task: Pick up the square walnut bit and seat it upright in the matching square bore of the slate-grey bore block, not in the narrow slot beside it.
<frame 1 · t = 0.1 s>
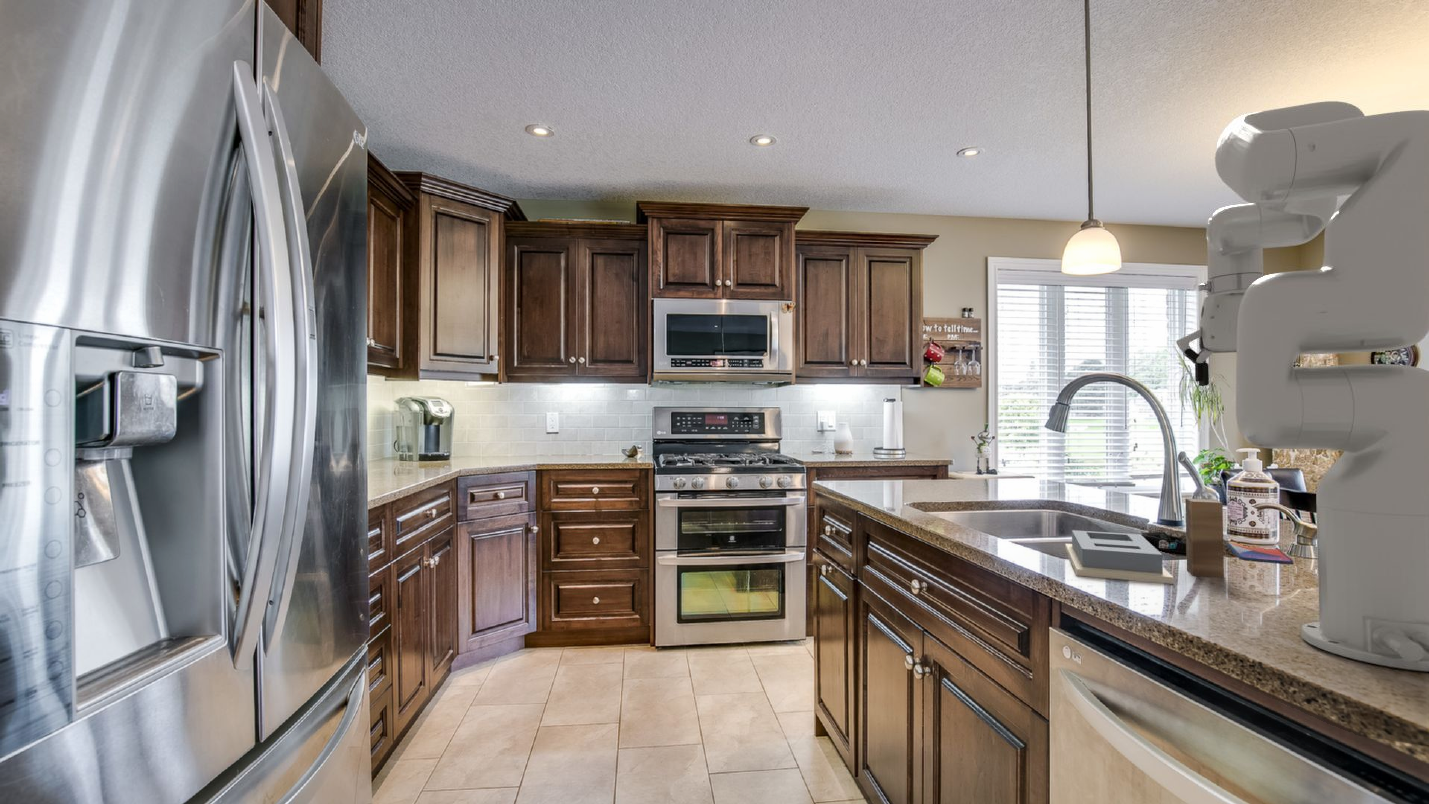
hand: (1237, 385, 111), 31 cm above the counter, tool pointing down, fingers open, 9 cm apart
walnut bit: (1204, 574, 103), on the counter
smartphone: (1257, 556, 118), on the counter
toy car: (1176, 553, 121), on the counter
bore block: (1113, 564, 110), on the counter
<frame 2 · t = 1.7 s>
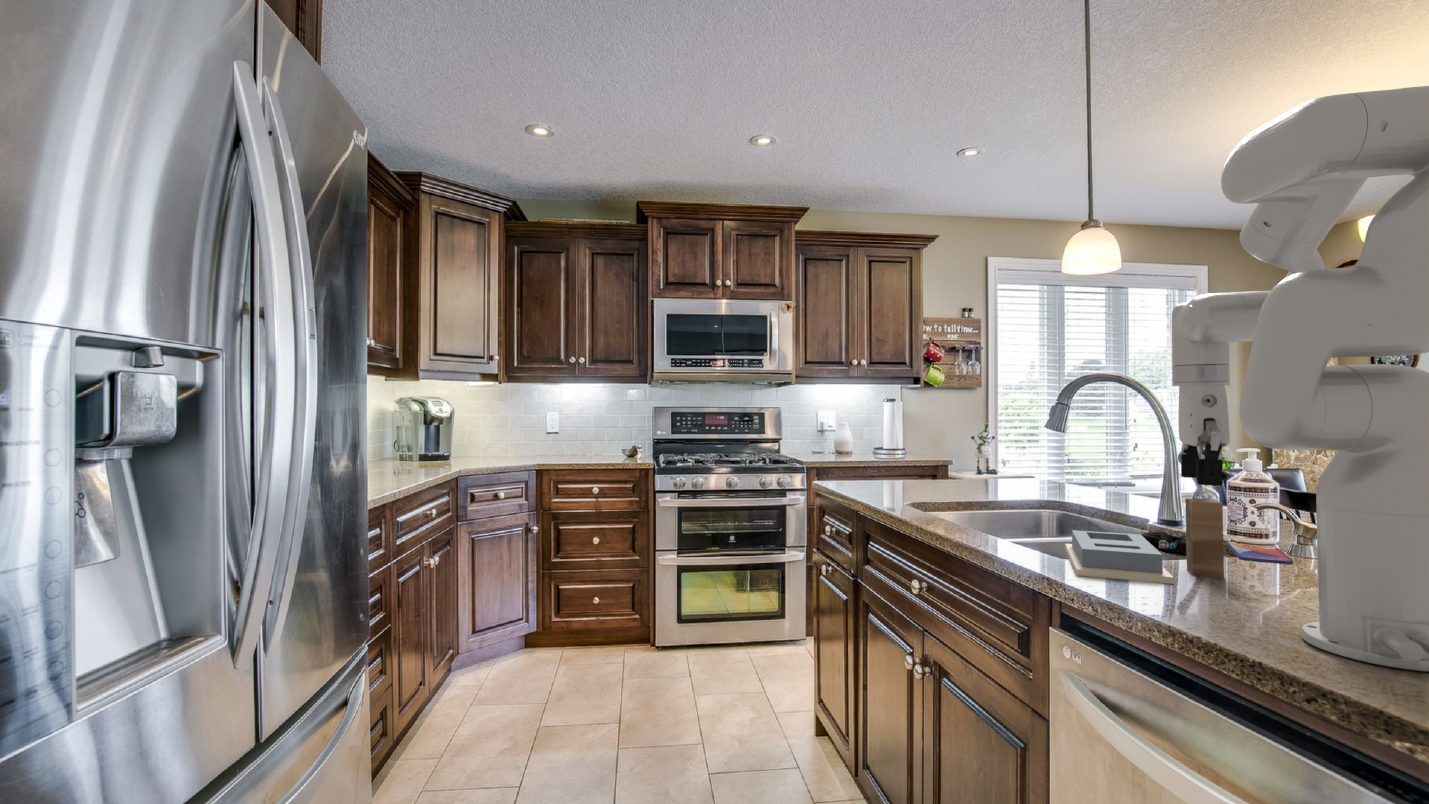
hand: (1200, 480, 104), 15 cm above the counter, tool pointing down, fingers open, 9 cm apart
nothing on the counter moved.
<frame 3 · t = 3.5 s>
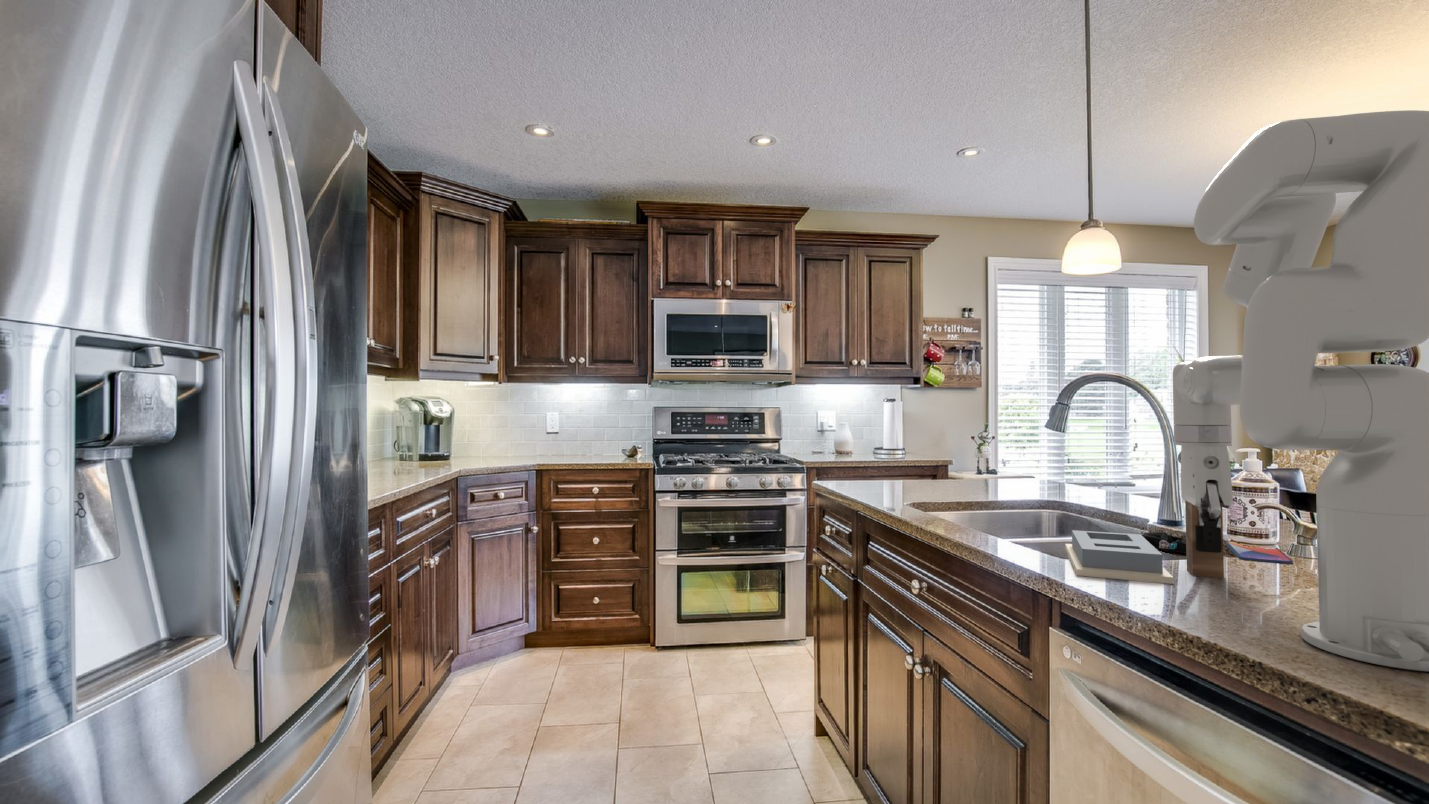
hand: (1204, 547, 103), 4 cm above the counter, tool pointing down, fingers closed on walnut bit, 4 cm apart
walnut bit: (1204, 574, 103), on the counter, touching gripper
everything else where it was.
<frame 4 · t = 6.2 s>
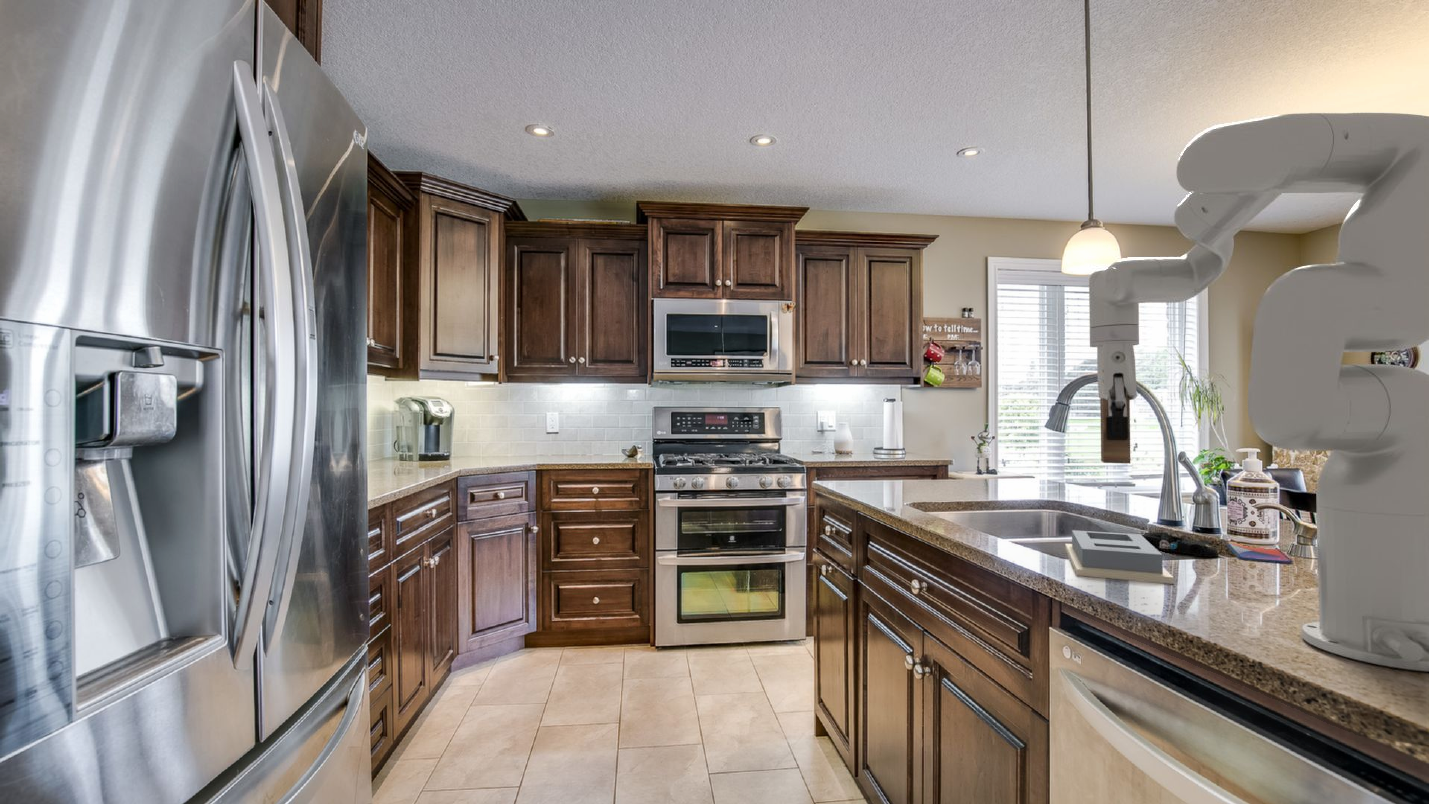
hand: (1115, 438, 114), 22 cm above the counter, tool pointing down, fingers closed on walnut bit, 4 cm apart
walnut bit: (1115, 462, 114), point 17 cm above the counter, touching gripper
everything else where it was.
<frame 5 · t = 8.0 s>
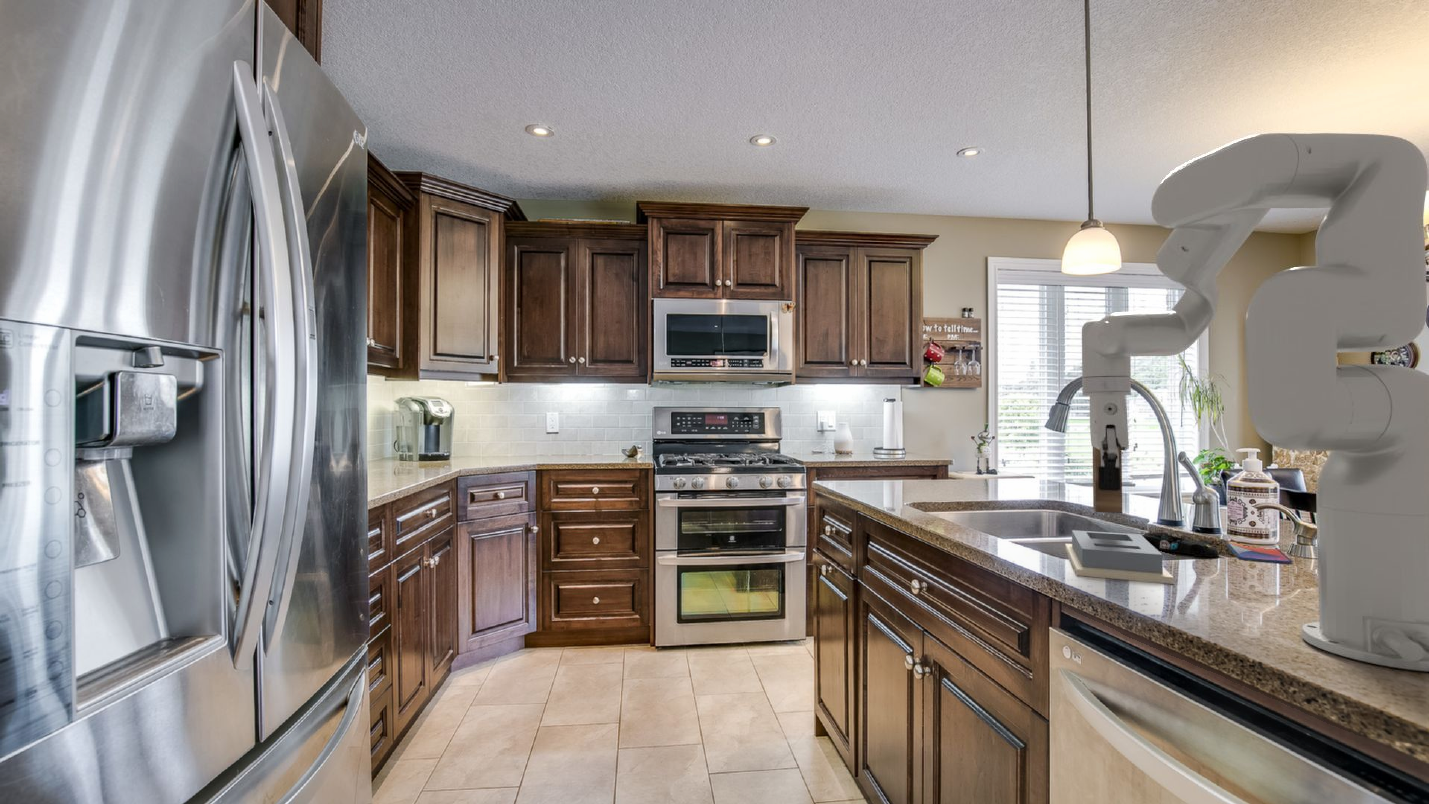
hand: (1107, 487, 115), 13 cm above the counter, tool pointing down, fingers closed on walnut bit, 4 cm apart
walnut bit: (1107, 511, 115), point 9 cm above the counter, touching gripper
everything else where it was.
when the fingers open (6 cm above the counter, at t = 9.5 s): walnut bit stays where it is, resting on bore block.
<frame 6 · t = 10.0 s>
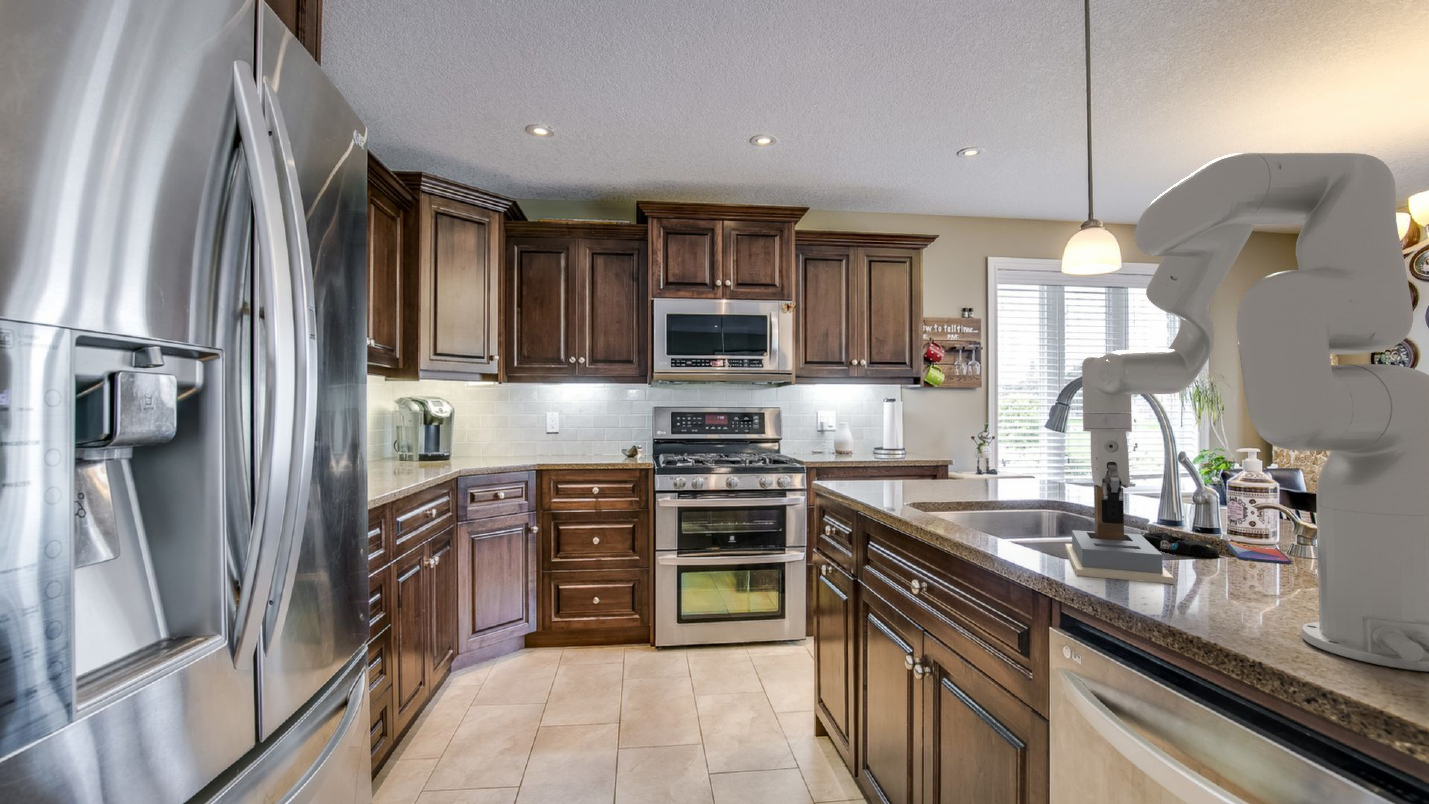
hand: (1108, 518, 115), 7 cm above the counter, tool pointing down, fingers open, 9 cm apart
walnut bit: (1109, 553, 114), point 1 cm above the counter, touching bore block
everything else where it was.
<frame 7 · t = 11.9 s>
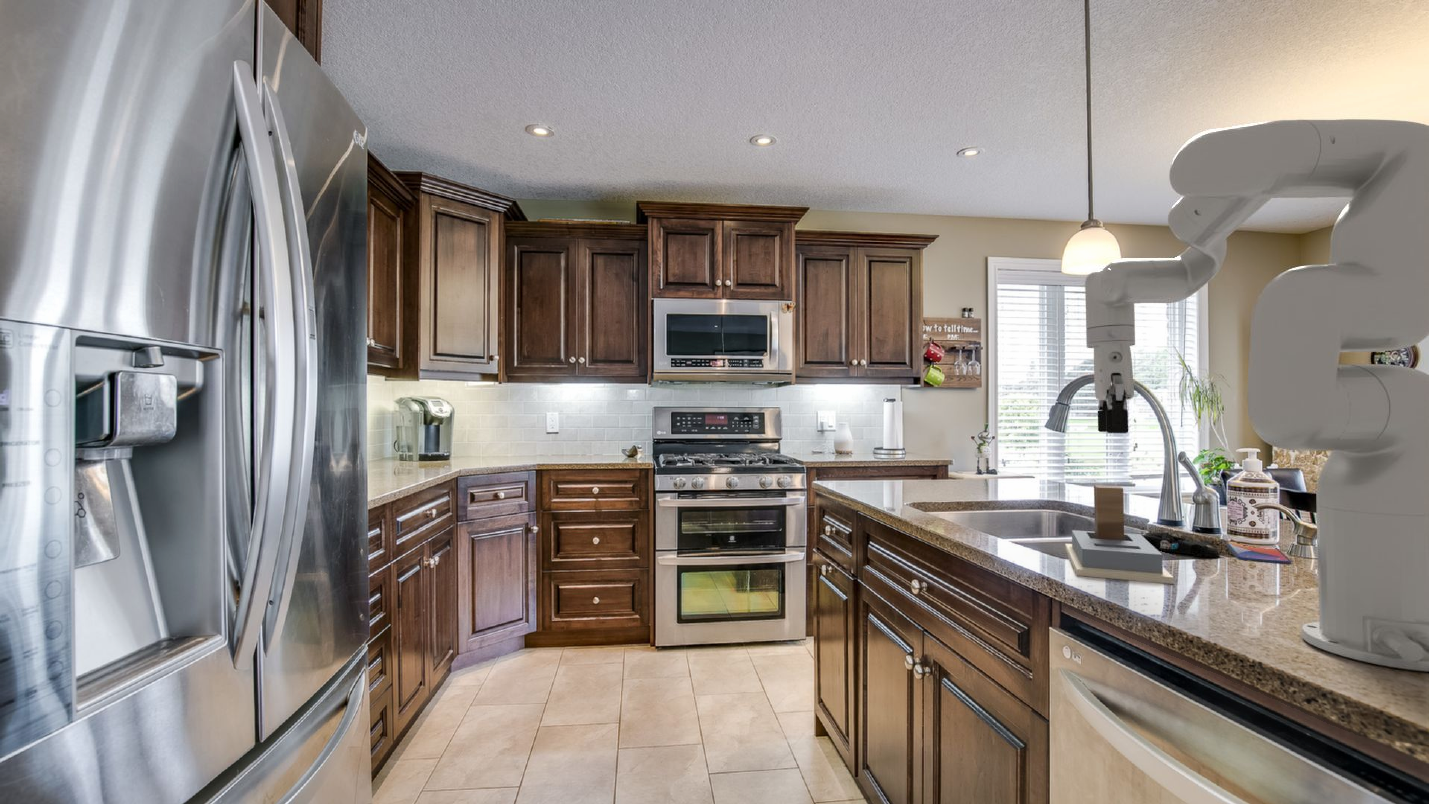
hand: (1112, 432, 115), 23 cm above the counter, tool pointing down, fingers open, 9 cm apart
nothing on the counter moved.
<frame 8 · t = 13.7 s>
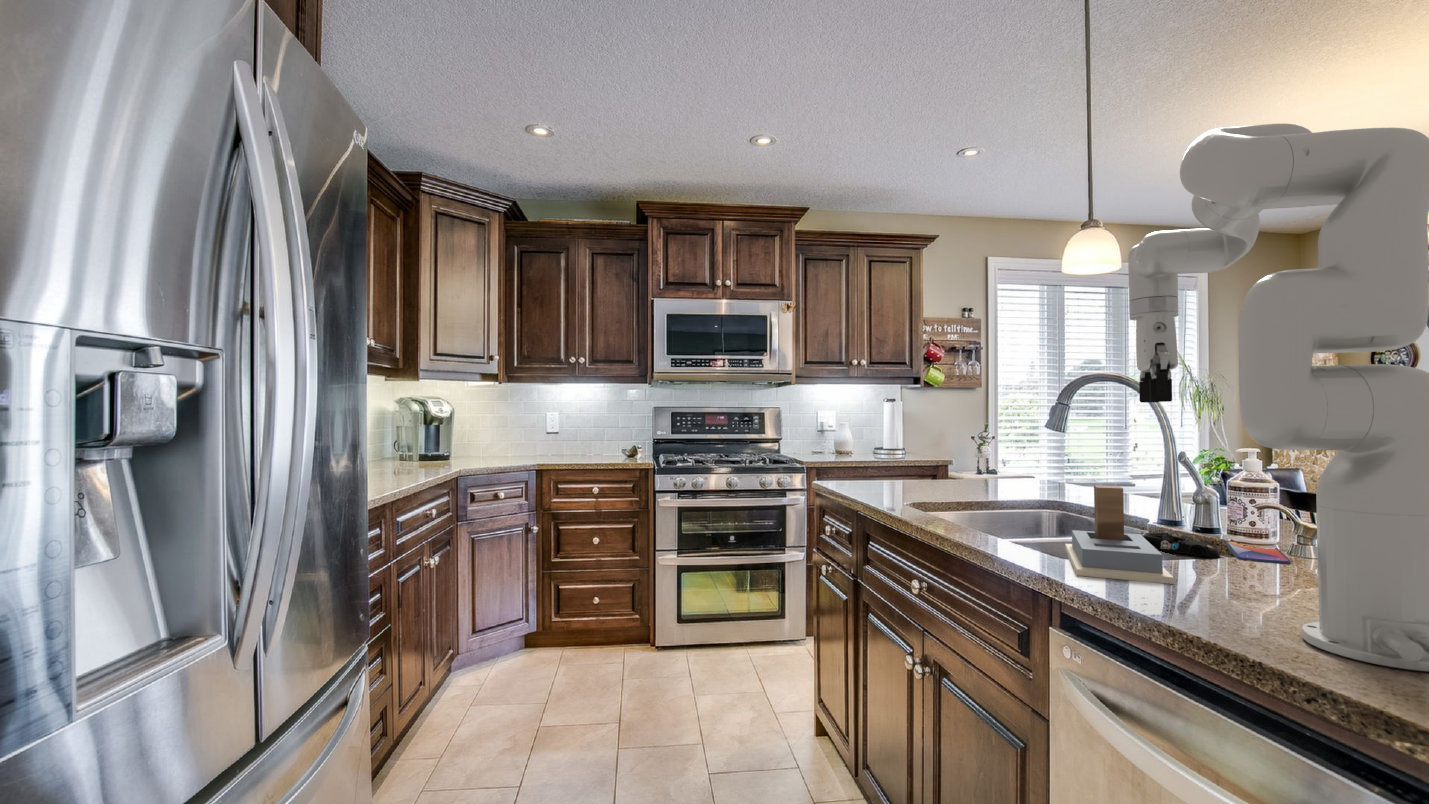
hand: (1155, 401, 117), 28 cm above the counter, tool pointing down, fingers open, 9 cm apart
nothing on the counter moved.
at the end: walnut bit 0.0 cm from the target spot on the bore block, point 1.0 cm above the bore block's base; walnut bit tilted 0°; the gripper is holding nothing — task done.
